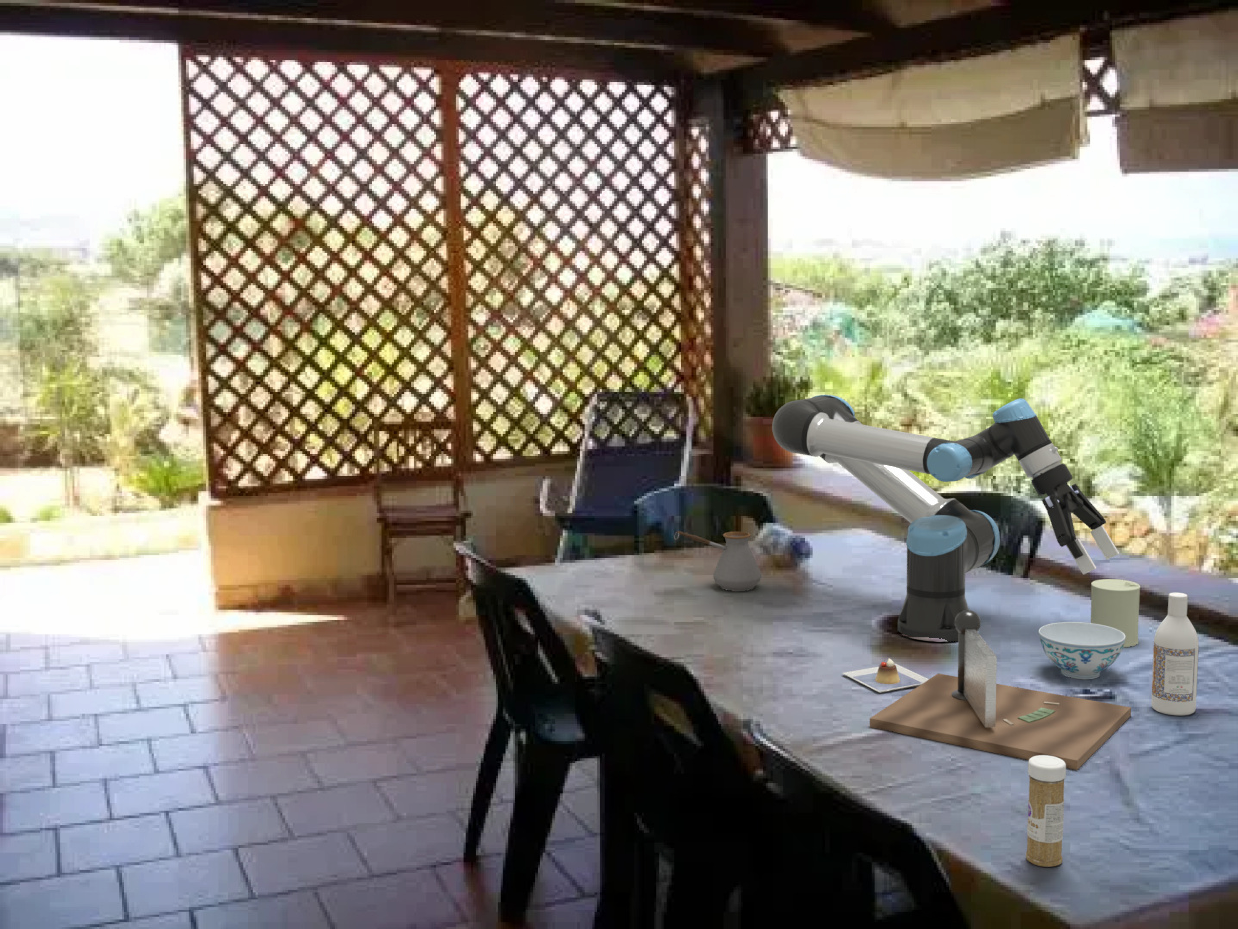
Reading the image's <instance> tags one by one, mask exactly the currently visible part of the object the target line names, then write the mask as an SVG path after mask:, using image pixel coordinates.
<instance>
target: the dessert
mask: <svg viewBox="0 0 1238 929" xmlns="http://www.w3.org/2000/svg"><path fill="white" fill-rule="evenodd" d="M885 660H886V659H884V661H882V662H881V663H880V664H879V665H878V666H874V667H869V668H863V669H857V670H851V671H846V672H842V675H844V676H846V677H848V678H850V679H851V680H853V681H855V682H858V683H860V684H861V685H864V686H865V687H868V688H869V689H871V690H873V691H874V692H877V693H879V694H882V693H887V692H888V693H889V692H892V691H899V690H904V689H910V688H917V687H918V686H920V685H921V684H923V683H924V682H926V681H927V680H929V679H930V678H927V677H926V676H924V675H921V674H919V673H917V672H916V671H915V672H914V671H912V670H911V669H908V668H906V667H905V666H902V665H899V664H897V663H895V662H894V661H893V660H892V659H891V658H890V657H889V658H888V659H887V662H886V661H885ZM899 673H900V674H902V675H904V676H906V677H909V678H911V679H913V680H915V681H918V682H920V683H916V684H911V685H910V684H909V685H905V686H899V687H894V688H887V689H884V690H879V689H877V688H875V687H872V686H870V685H869V684H867V683H865V682H863V681H861V680H859V679H857V678H855V677H859V676H865V675H871V674H876V675H875V679H874V681H875V682H876V683H879V684H883V685H896V684H898V683H900V682H901V679H900V676H899Z"/></svg>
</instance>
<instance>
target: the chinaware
mask: <svg viewBox="0 0 1238 929" xmlns="http://www.w3.org/2000/svg"><path fill="white" fill-rule="evenodd" d="M1038 636H1039V641H1040V645H1041V646H1042V647H1041V648H1042V649H1043V651H1044V653H1045V655H1046V656H1047V658H1048V659H1049V660H1050V661H1051V662H1052V664H1054V665H1055V666H1057V667H1058V669H1060V672H1061V674H1062V675H1063V676H1065V675H1066V676H1065V677H1067V676H1068V677H1067V678H1070V677H1071V679H1076V680H1077V679H1078V680H1092V679H1093V680H1094V679H1097V678H1099V677H1100V676H1101V672H1102V671H1105V670H1107V669H1108V668H1109V667H1110V666H1112V665H1113V664H1114V663H1116V662H1115V661H1117V659H1118V658H1119V656H1120V654H1121V653H1122V651H1123V648H1124V647H1123V646H1124V642H1125V634H1124V633H1123V632H1121V631H1120V630H1117V629H1115V628H1112V627H1109V626H1104V625H1099V624H1093V623H1091V622H1081V621H1063V622H1062V621H1060V622H1053V623H1048V624H1045V625H1043V626H1041V627H1040V628H1039V629H1038Z"/></svg>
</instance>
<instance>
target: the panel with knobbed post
mask: <svg viewBox="0 0 1238 929" xmlns="http://www.w3.org/2000/svg"><path fill="white" fill-rule="evenodd" d="M954 623H955V628H956V629H957V631H958V632H959V634H958V641H957V642H958V644H957V647H958V648H957V649H958V651H957V652H958V653H957V677H958V692H959V693H962V694H964V696H965V697H966V699H967V700H968V702H969V703H970V705H971V706H972V708H973V709H974V711H975V712H976V714H977V715H978V717H979V719H980V720H981V722H982V723H983V725H984V726H985V727H995V719H996V684H997V670H998V669H997V667H998V665H997V662H998V659H997V658H998V656H997V655H996V653H995V652H994V650H993V649H992V648H991V647H990V646H989V645H988V643H987V642H986V641H985V640H984V638H983V637H982V636H981V634H980V633H979V631H980V629H981V627H982V621H981V617H980V615H979V614H978V613H977V612H975V611H973V610H971V609H969V610H964V611H961V612H960V613H958V614H957V616H956V618H955V622H954Z"/></svg>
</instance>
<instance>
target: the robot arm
mask: <svg viewBox="0 0 1238 929" xmlns="http://www.w3.org/2000/svg"><path fill="white" fill-rule="evenodd" d="M992 419H993V422H994V423H992V424H991V425H990V426H989V427H987V428H985V429H984V430H982V431H980V432H978V433H976V434H974V435H972V436H968V437H966V438H961V439H957V440H950V439H949V440H948V439H946V438H945V439H944V438H939V437H938V438H936V437H932V436H928V435H924V434H923V435H922V434H916V433H911V432H904V431H900V430H894V429H889V428H884V427H876V426H871V425H867V424H862V422H861V421H859V420H858V419H857V417H856V416H855V411H854V408H853V407H852V406H851V405H850V403H849V402H848V401H846V400H845V399H843V398H842V397H839V396H837V395H831V394H819V395H818V394H817V395H815V396H812V397H809V398H804V399H803V398H801V399H796V400H792V401H789V402H787V403H784V405H782V406H781V407H780V408H778V410H777V411H776V413H775V414H774V417H773V420H772V423H771V425H772V426H771V431H772V434H773V435H772V436H773V437H774V440H775V441H776V443H777V445H779V446H780V447H781V448H782V449H783V450H785V451H787V452H789V453H792V454H798V455H804V456H810V457H815V458H816V457H817V458H818V457H820V458H821V459H822V460H823V461H825V462H826V463H827V464H835V463H837V464H839V465H840V467H842V468H843V469H845V470H846V471H847V472H848V473H849V474H850V475H851V476H853V477H855V478H856V479H857V481H859V482H860V483H862V484H863V485H864V486H866V488H868V489H869V490H870V491H871V492H872V493H874V494H875V495H876V496H877V497H878V498H880V499H881V500H882V501H883V502H884V503H885V504H887V505H888V506H889V507H891V508H892V509H893V510H894V511H896V512H897V513H898V514H899V515H900V516H902V517H903V518H904V519H905V520H906V521H907V522H909V523H910V524H909V526H908V528H907V534H906V535H907V536H906V539H905V540H906V541H905V542H906V543H905V544H906V595H905V599H904V601H903V604H902V607H901V610H900V613H899V616H898V619H897V632H898V631H899V632H901V633H903V634H905V635H908V636H912V637H929V638H939V639H941V638H942V639H945V640H947V641H950V642H949V643H953V642H954V641H955V642H958V634H959V632H958V631H957V629H956V628H955V623H954V622H955V618H956V616H957V614H958V613H960V612H961V611H964V610H970V608H969V606H968V602H967V599H966V573H969V572H971V571H973V570H975V569H979V568H982V567H984V566H985V565H986V564H987V563H989V562H990V561H992V559H993V558H994V557H995V556H996V554H997V553H998V551H999V548H1000V544H1001V539H1000V538H1001V536H1000V531H999V526H998V525H997V523H996V521H995V520H994V519H993V518H992V517H991V516H990V515H988V514H987V513H985V511H981V510H976V509H973V510H972V509H969V508H967V507H966V506H965V505H964V504H963V503H961V502H960V501H959V500H957V499H956V498H954V497H953V498H944V497H943V496H941V495H940V494H939V493H938V492H936V491H935V490H934V489H933V488H931V487H930V486H929V485H928V484H927V483H925V482H924V481H923V480H921V479H920V478H919V477H918V476H916V475H915V474H914V473H913V472H915V473H920V474H921V473H922V474H927V475H931V476H932V477H933V478H934V479H936V480H937V481H939V482H944V483H949V482H957V481H960V480H962V479H964V478H965V479H967V480H971V479H974V478H976V477H978V476H980V475H983V474H985V473H986V472H987V471H989V470H990V469H993V467H996V466H997V465H1000V463H1002V462H1004V461H1006V460H1007V459H1009V458H1011V457H1013V456H1015V458H1016V460H1017V461H1018V463H1019V465H1020V466H1021V468H1022V471H1023V472H1024V473H1025V475H1026V477H1027V478H1029V479H1030V478H1031V480H1030V481H1031V482H1030V483H1031V485H1032V486H1033V489H1034V490H1035V492H1036V494H1038V496H1044V495H1047V496H1046V497H1045V498H1042V500H1041V502H1042V505H1043V506H1044V507H1045V511H1046V512H1047V515H1048V518H1049V521H1050V525H1051V527H1052V529H1053V533H1054V536H1055V538H1056V542H1057V543H1058V544H1059V547H1061V548H1063V547H1065V546H1066V548H1067V550H1068V552H1069V553H1070V555H1071V556H1072V559H1073V561H1075V563H1076V564H1077V567H1078V568H1079V570H1080V572H1081V573H1082V575H1087V574H1088V573H1089V572H1093V571H1094V570H1096V569H1097V566H1096V565H1095V563H1094V561H1093V560H1092V558H1091V556H1090V554H1089V553H1088V551H1087V550H1086V548H1085V546H1084V544H1083V543H1082V541H1081V539H1080V538H1077V536H1076V532H1075V527H1074V522H1073V517H1072V514H1073V515H1074V516H1075V517H1077V518H1078V519H1079V520H1080V521H1081V522H1082V523H1083V524H1085V525H1086V526H1087V527H1088V528H1089V529H1090V530H1091V531H1089V533H1090V535H1091V536H1092V538H1093V540H1094V542H1095V543H1096V545H1097V546H1098V549H1100V551H1101V553H1102V555H1103V556H1104V557H1105V559H1106V561H1107V560H1110V559H1112V558H1114V557H1116V556H1117V555H1119V554H1120V552H1119V550H1118V549H1117V547H1116V545H1115V544H1114V542H1113V540H1112V538H1111V536H1109V534H1108V532H1107V530H1106V528H1105V527H1104V525H1105V524H1107V520H1106V519H1105V517H1104V516H1103V515H1102V514H1101V512H1100V511H1099V510H1098V509H1097V508H1096V506H1094V504H1093V503H1092V502H1091V501H1090V500H1089V499H1088V498H1087V497H1086V495H1085V494H1084V493H1083V492H1082V491H1081V489H1080V488H1079V486H1078V484H1076V483H1074V484H1072V485H1069V484H1068V483H1069V482H1070V481H1072V480H1073V475H1072V473H1071V471H1070V470H1069V467H1068V466H1067V465H1066V464H1065V463H1061V461H1062V460H1063V459H1062V457H1061V456H1060V454H1059V452H1058V450H1059V447H1057V446H1055V445H1054V444H1053V442H1052V440H1051V439H1050V437H1049V435H1048V433H1047V432H1046V429H1045V428H1044V426H1043V425H1042V423H1041V421H1040V420H1039V417H1038V415H1037V413H1035V411H1034V409H1033V408H1032V407H1031V406H1030V404H1029V402H1028V401H1027V400H1026V399H1025V398H1017V399H1014V400H1012V401H1010V402H1008V403H1006V404H1004V405H1003V406H1001V407H999V408H998V409H997V410H995V411H994V412H993V413H992ZM911 471H912V472H911ZM951 641H953V642H951Z"/></svg>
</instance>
